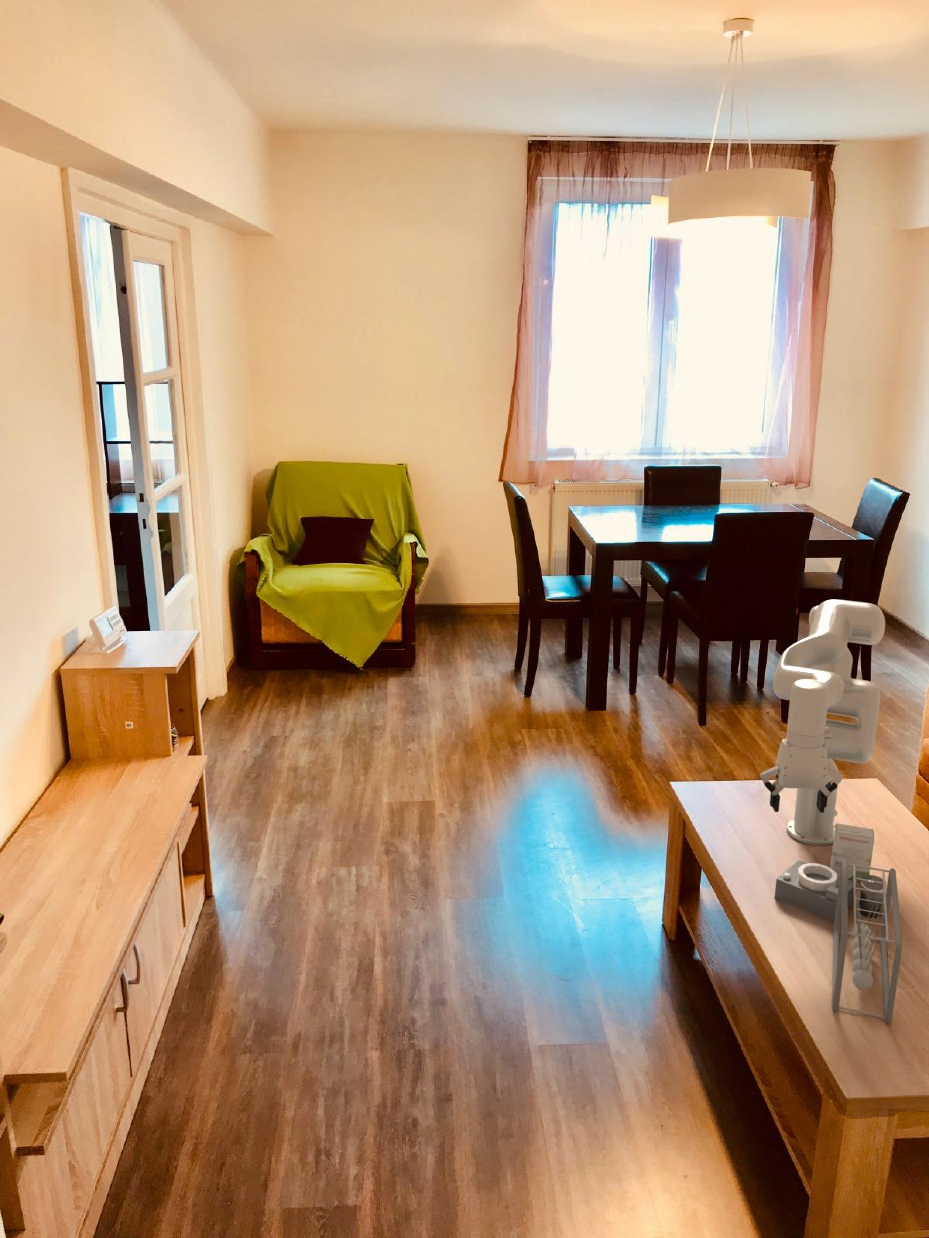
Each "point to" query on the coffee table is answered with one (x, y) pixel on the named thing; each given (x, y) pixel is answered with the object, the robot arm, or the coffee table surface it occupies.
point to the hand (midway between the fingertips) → (797, 809)
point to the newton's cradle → (866, 941)
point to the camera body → (812, 889)
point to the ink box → (852, 849)
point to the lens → (871, 896)
